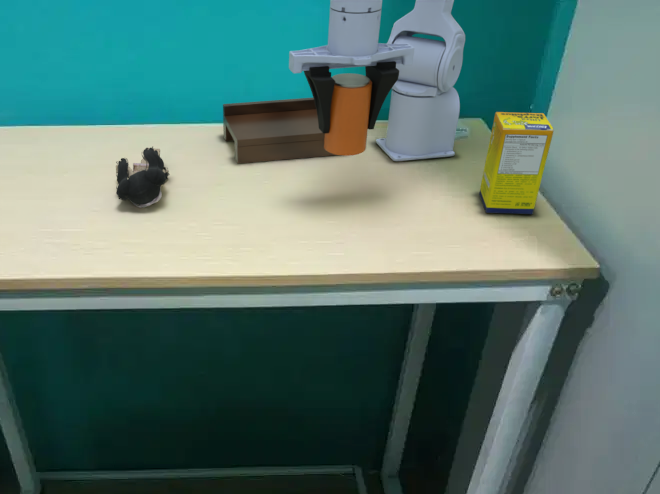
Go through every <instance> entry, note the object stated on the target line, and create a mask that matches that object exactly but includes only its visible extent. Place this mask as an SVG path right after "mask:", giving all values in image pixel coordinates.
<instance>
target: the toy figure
mask: <svg viewBox="0 0 660 494" xmlns="http://www.w3.org/2000/svg"><path fill="white" fill-rule="evenodd" d="M141 157H142V158H141V160H140V162H133V163H132V168H131V166H129V160H128V158H126V157H121V158H120V160H118V161H115V163H116V165H115V176H116V182H117V185H116V192H115V195H116V196H117V197H118V200H121V201H127V200H128V201H129V202H131V203H132V204H133V205H134V206H136V207H137V208H139V209H142V208H146V207H150V206H151V205H153V204H156V203H158V202H159V201H160V200H161V199H162V195H163V193H162V186H163V185H164V184H165V183H166V181H167V180H168V179H169V178H168V177H169V176H170V173H169V172H170V171H169V168H168V167H165V162H164V160H163V159H162V157H161V149H160V148H158V147H157V148H156V147H155V148H154V146H151V147H146V148H144V149H143V150H142V154H141Z"/></svg>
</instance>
